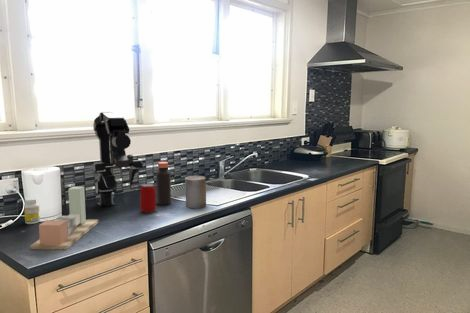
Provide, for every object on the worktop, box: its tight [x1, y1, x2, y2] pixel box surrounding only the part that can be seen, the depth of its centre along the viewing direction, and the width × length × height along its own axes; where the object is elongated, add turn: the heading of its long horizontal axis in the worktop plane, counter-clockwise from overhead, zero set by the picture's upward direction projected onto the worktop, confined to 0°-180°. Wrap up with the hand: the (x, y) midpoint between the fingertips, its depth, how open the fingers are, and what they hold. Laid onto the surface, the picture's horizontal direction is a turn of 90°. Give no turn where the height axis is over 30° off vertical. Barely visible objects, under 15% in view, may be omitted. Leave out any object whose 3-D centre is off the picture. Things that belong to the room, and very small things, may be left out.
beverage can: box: [139, 183, 157, 213], centre depth 166 cm, size 7×7×12 cm
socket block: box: [38, 219, 68, 244], centre depth 125 cm, size 5×7×7 cm
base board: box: [29, 215, 99, 251], centre depth 136 cm, size 28×12×7 cm, turn 179°
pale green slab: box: [67, 186, 86, 226], centre depth 137 cm, size 17×4×14 cm, turn 179°
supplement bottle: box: [23, 198, 41, 225], centre depth 149 cm, size 5×5×10 cm
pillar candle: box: [184, 175, 207, 209], centre depth 174 cm, size 10×10×15 cm
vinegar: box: [155, 161, 172, 206], centre depth 178 cm, size 7×7×20 cm
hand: (119, 186), depth 150 cm, fingers open, 9 cm apart
